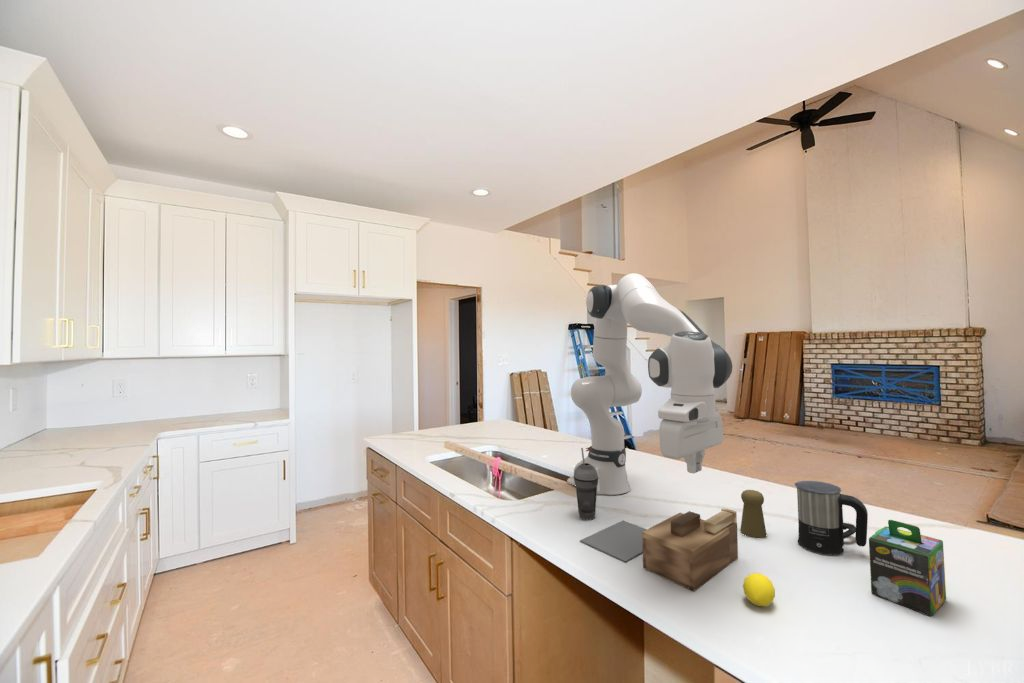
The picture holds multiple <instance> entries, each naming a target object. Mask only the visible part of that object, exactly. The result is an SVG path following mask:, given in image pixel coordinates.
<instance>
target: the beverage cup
mask: <svg viewBox="0 0 1024 683" xmlns="http://www.w3.org/2000/svg"><path fill="white" fill-rule="evenodd" d="M580 450H581V458H582V460H583V464H580V465H579V466H578V467H577V468H576V470H575V472H574V471H573V476H574V477H573V478H574V481H575V485H576V487H575V493H576V500H577V508H578V509H577V511H578V517H579V519H581V520H583V521H591V520H595V518H596V512H597V511H596V510H597V509H596V507H597V496H598V494H597V485H598V479H599V478H598V473H597V471H596V469H595V468H594V466H592V465H591V464H588V463H585V461H584V459H585V454H584V447H581V448H580Z"/></svg>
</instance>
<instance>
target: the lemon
mask: <svg viewBox="0 0 1024 683" xmlns="http://www.w3.org/2000/svg"><path fill="white" fill-rule="evenodd" d="M742 588H743V593H744V595H745V597H746V598H747V600H748V601H749V602H751V603H752V604H753V605H756V606H758V607H768V606H769V605H770V604H772V603H773V601H774V599H775V597H776V589H775V587H774V584H773V582H772V580H771V579H770V578H769V577H768V576H766V575H764V574H762V573H759V572H758V573H757V572H754V573H751V574H748V575H747V576H746V577H745V578H744V580H743V584H742Z"/></svg>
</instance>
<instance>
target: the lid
mask: <svg viewBox="0 0 1024 683" xmlns="http://www.w3.org/2000/svg"><path fill="white" fill-rule="evenodd" d="M705 520H706V519H705ZM705 520H704V519H701V514H699V513H696V512H692V511H690V510H688V511H687V512H685V513H682V512H678V513H677V514H674V515H672V516H670V517H669V518H667V519H665V520H662V521H661V522H659V523H657V524H655V525H653V526H651V527H649V528H646V529H647V530H645V531H643V532H642V537H643V538H646V539H648V540H651V541H653V542H656V543H658V544H661V545H663V546H666V547H669V548H671V549H674V550H676V551H679V552H681V553H684V554H686V555H689V556H691V557H694V556H696V555H698V554H699V553H701V552H702V551H704V550H705V549H707V548H708V547H710V546H711V545H713V544H714V543H716V542H717V541H719V540H720V539H722V538H723V537H725V536H726V535H728V534H729V528H727V527H725V528H723V529H722V530H720V531H718V532H717V533H715V534H714V533H711V532H708V531H705V530H704V521H705Z"/></svg>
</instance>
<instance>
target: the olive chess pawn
mask: <svg viewBox="0 0 1024 683" xmlns="http://www.w3.org/2000/svg"><path fill="white" fill-rule="evenodd" d="M740 498H741V501H742V502H743V505H742V506H743V507H742V514H741V523H740V529H739V531H741V532H740V533H741V534H742V535H743V534H744V536H745V535H746V536H745V537H748V538H752V539H757V538H761V539H765V538H767V536H768V534H767V530H766V523H765V519H764V518H765V517H764V510H763V505H764V502H765V498H764V495H763V493H761V492H760V491H758V490H754V489H746V490H743V491H742V492H741V494H740ZM766 535H767V536H766Z"/></svg>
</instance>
